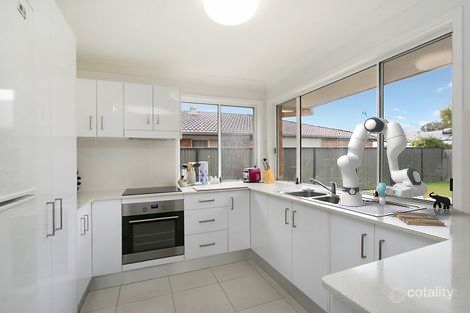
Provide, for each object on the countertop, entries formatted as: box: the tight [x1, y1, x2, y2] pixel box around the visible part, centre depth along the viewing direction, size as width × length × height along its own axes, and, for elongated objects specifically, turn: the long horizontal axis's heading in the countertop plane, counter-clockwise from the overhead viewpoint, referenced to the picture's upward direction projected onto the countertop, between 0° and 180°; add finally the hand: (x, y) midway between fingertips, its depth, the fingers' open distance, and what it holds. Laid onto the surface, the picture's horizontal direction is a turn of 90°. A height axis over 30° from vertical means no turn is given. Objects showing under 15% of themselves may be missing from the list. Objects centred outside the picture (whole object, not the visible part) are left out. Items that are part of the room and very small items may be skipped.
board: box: [392, 211, 446, 227], centre depth 126 cm, size 20×16×2 cm
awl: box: [377, 182, 387, 206], centre depth 138 cm, size 4×4×13 cm
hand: (380, 191), depth 137 cm, fingers closed on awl, 4 cm apart
